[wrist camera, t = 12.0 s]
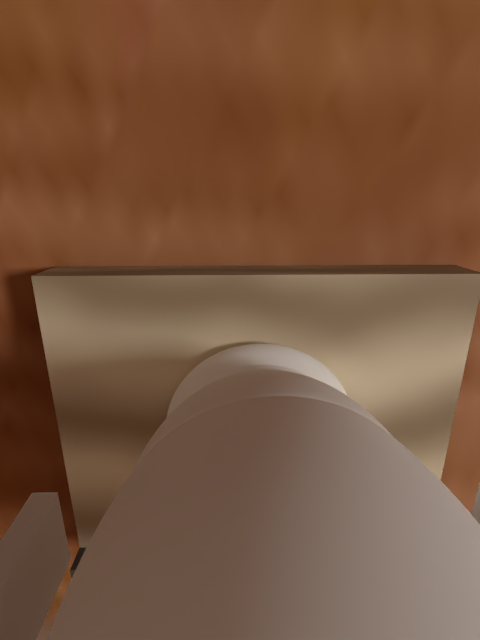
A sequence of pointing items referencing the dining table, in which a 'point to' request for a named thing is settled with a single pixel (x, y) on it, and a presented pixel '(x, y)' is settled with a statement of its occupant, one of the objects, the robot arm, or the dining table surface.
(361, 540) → the jar
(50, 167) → the dining table surface
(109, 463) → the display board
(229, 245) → the dining table surface
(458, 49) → the dining table surface
